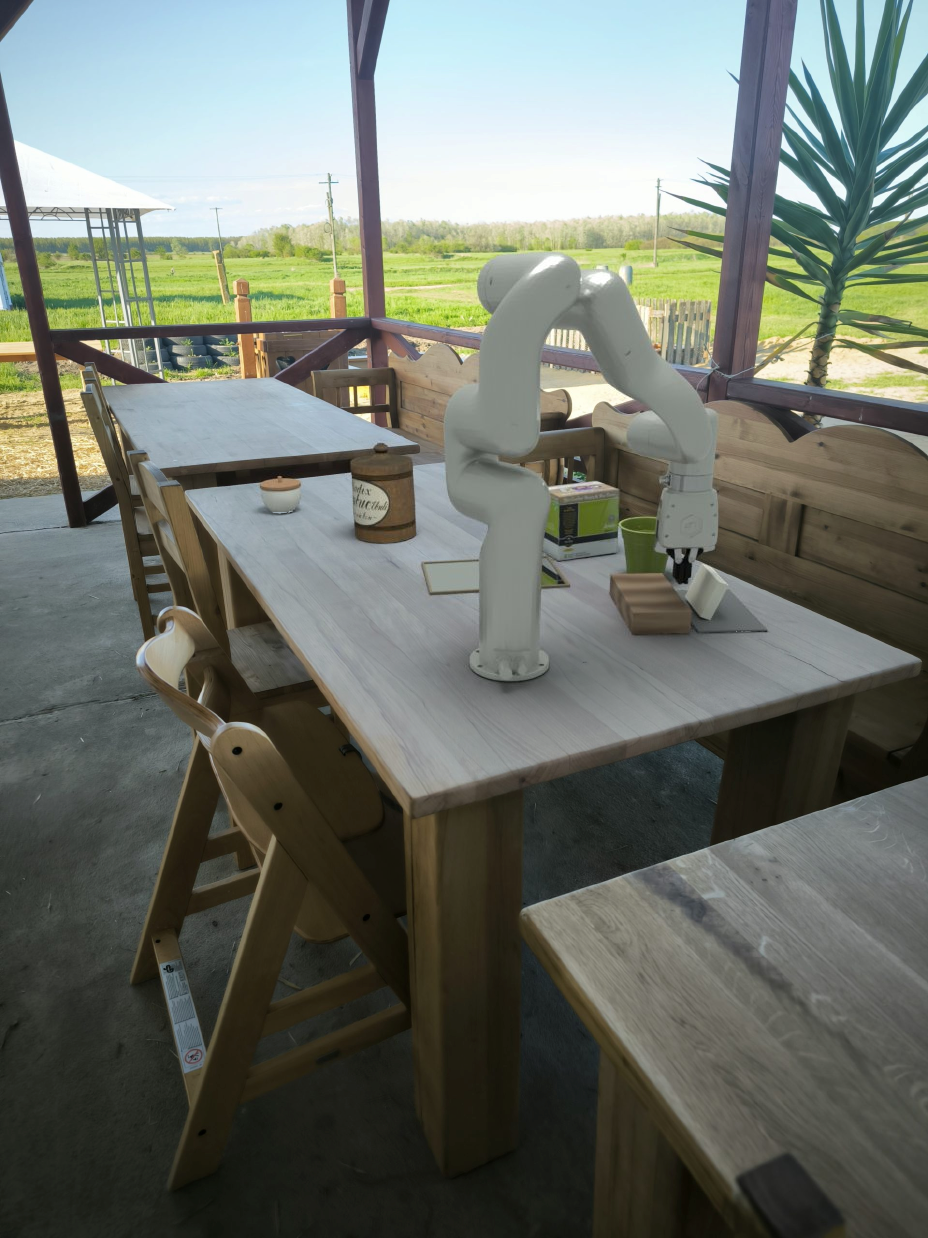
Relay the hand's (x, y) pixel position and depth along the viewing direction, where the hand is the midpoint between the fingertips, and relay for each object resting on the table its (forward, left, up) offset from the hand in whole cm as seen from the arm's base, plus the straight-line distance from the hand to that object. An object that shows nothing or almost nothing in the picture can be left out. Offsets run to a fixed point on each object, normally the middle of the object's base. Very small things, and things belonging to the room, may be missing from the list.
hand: (681, 581), depth 147 cm
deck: (0, +6, -6) cm, 8 cm away
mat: (0, -7, -6) cm, 9 cm away
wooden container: (+53, +57, -6) cm, 78 cm away
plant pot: (+19, +2, -6) cm, 20 cm away
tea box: (+37, +13, -6) cm, 39 cm away
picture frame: (+22, +33, -6) cm, 40 cm away
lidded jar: (+77, +86, -6) cm, 115 cm away
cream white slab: (-1, -4, -1) cm, 4 cm away
